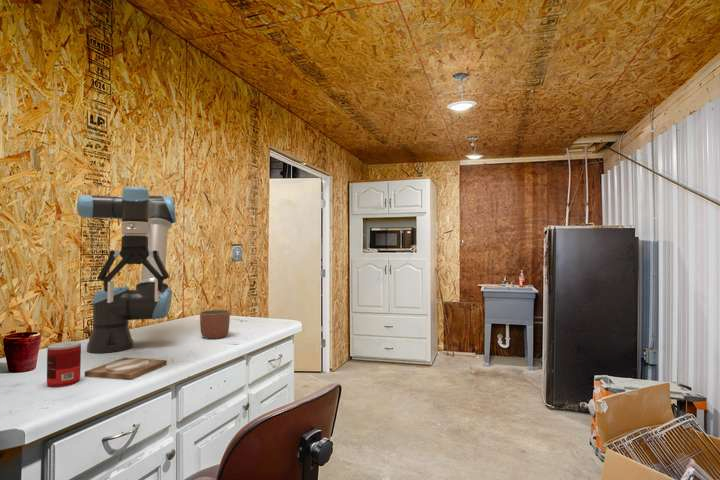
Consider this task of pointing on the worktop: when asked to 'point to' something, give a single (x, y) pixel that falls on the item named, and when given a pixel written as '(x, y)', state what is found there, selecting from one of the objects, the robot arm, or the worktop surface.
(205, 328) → the planter
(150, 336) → the worktop surface
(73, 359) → the canned food
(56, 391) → the worktop surface
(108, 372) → the board
